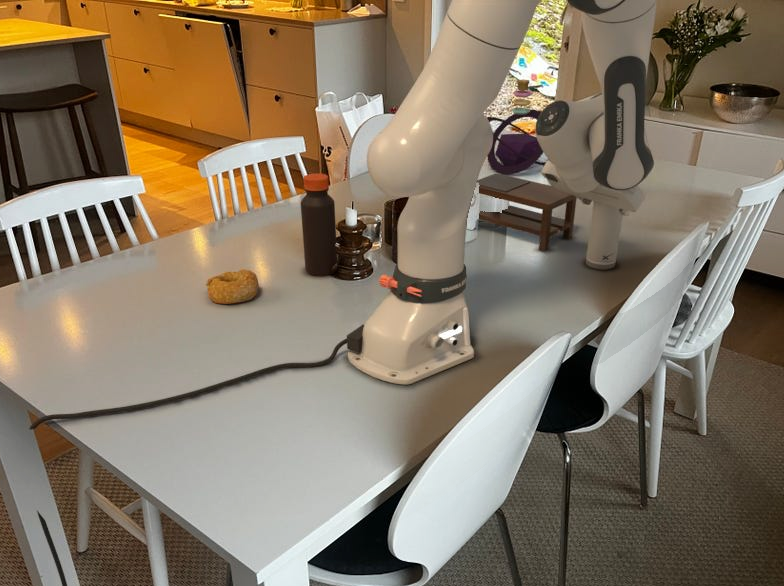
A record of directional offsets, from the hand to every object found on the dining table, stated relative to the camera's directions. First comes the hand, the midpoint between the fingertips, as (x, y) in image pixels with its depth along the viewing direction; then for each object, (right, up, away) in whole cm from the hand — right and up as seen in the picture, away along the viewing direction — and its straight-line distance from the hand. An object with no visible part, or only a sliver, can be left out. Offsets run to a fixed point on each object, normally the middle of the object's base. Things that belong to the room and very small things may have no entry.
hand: (607, 207), depth 153 cm
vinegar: (-59, -13, +5) cm, 61 cm away
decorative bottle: (-9, +27, +73) cm, 78 cm away
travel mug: (+1, -11, +8) cm, 14 cm away
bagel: (-75, -19, -6) cm, 78 cm away
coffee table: (-15, -1, +24) cm, 28 cm away
